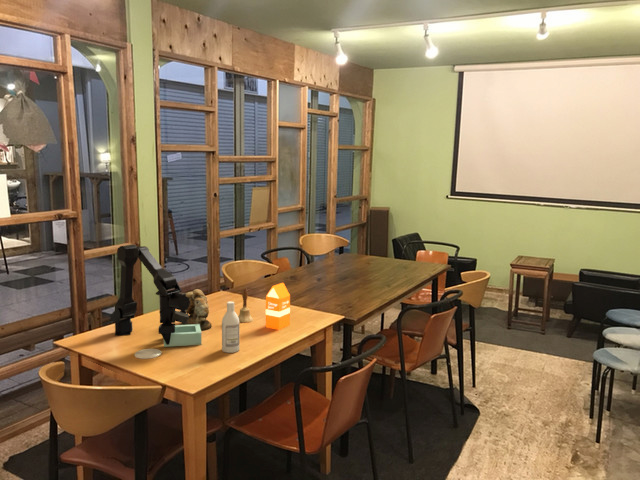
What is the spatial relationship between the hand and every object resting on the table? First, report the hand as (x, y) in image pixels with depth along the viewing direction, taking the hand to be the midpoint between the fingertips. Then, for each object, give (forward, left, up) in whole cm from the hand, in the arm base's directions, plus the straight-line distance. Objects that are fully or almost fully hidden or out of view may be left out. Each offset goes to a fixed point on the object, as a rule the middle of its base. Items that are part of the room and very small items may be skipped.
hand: (168, 343), depth 215 cm
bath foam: (+25, -9, -2) cm, 26 cm away
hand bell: (+35, +30, -2) cm, 46 cm away
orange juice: (+49, +18, -2) cm, 52 cm away
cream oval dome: (-7, -7, -1) cm, 10 cm away
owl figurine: (+12, +26, -2) cm, 28 cm away
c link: (+5, +5, -1) cm, 7 cm away
